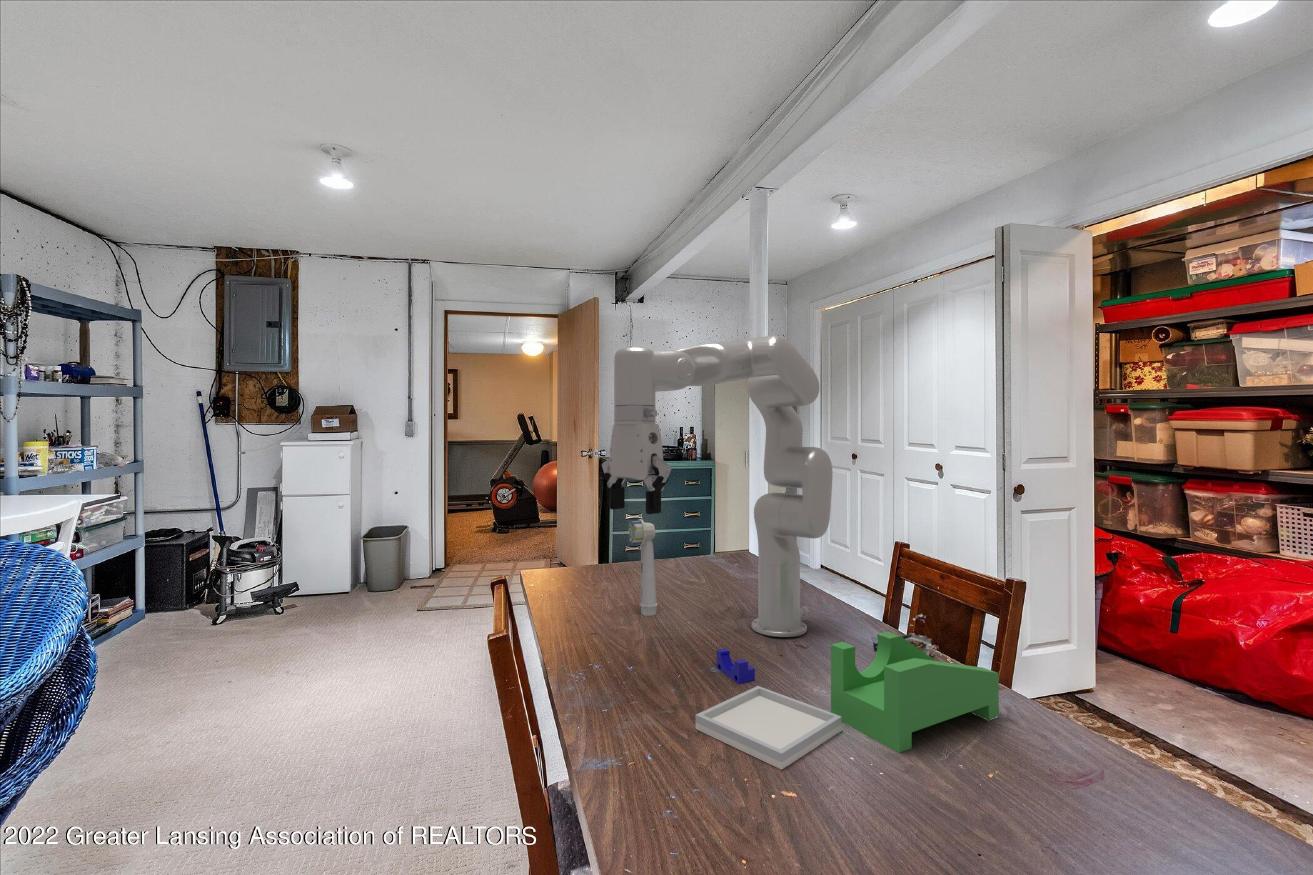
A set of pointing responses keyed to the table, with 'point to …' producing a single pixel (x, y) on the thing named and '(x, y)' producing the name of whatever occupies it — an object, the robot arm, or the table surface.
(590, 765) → the table surface
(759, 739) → the tray
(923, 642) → the silver rectangular box
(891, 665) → the green cradle stand
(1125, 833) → the table surface
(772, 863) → the table surface
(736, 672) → the cable holder
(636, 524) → the toothbrush head
